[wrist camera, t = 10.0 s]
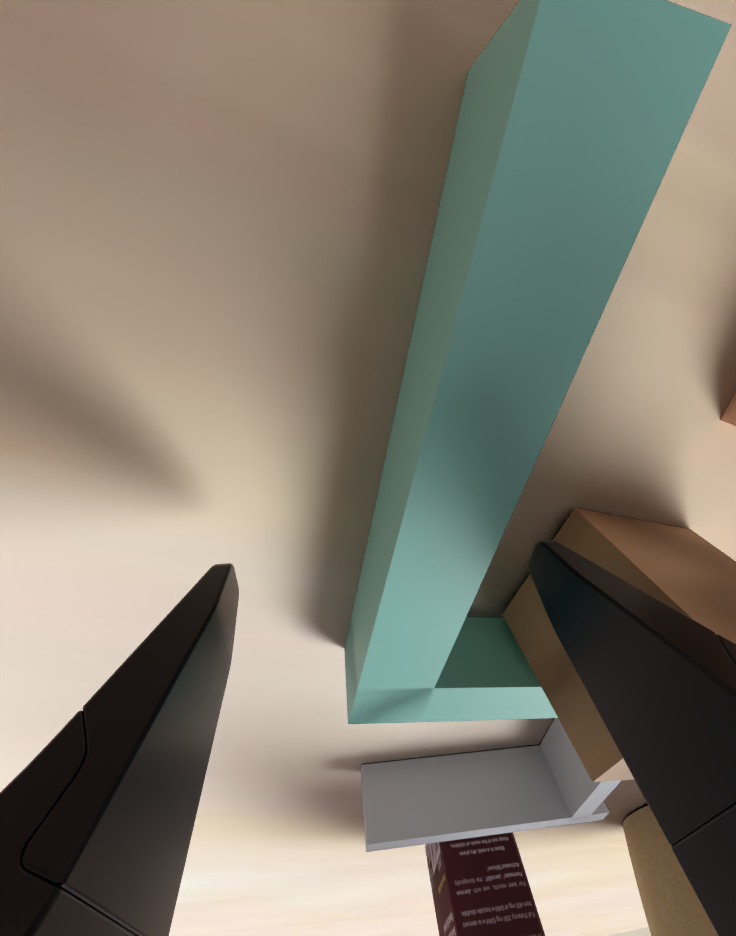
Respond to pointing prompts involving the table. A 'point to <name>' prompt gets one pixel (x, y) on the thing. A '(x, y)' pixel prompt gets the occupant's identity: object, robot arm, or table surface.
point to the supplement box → (481, 888)
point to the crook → (510, 331)
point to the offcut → (730, 412)
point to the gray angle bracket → (479, 794)
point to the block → (646, 567)
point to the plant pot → (663, 881)
